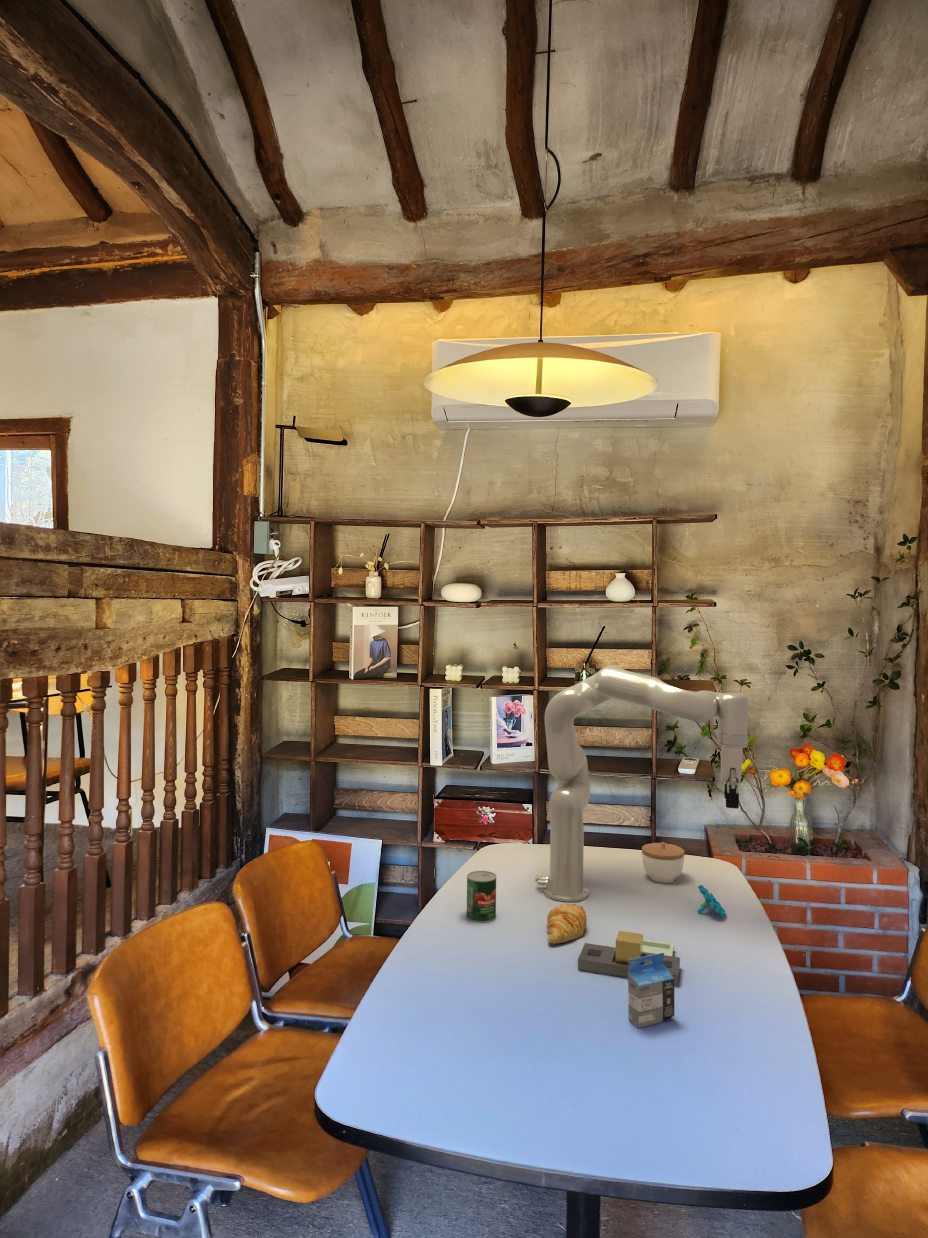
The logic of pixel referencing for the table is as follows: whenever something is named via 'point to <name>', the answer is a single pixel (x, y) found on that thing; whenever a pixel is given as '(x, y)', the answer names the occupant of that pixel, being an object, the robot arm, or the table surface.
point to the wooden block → (628, 947)
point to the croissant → (565, 923)
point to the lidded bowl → (662, 861)
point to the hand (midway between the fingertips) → (731, 803)
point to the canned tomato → (481, 896)
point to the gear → (710, 902)
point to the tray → (658, 947)
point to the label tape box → (650, 991)
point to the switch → (604, 963)
